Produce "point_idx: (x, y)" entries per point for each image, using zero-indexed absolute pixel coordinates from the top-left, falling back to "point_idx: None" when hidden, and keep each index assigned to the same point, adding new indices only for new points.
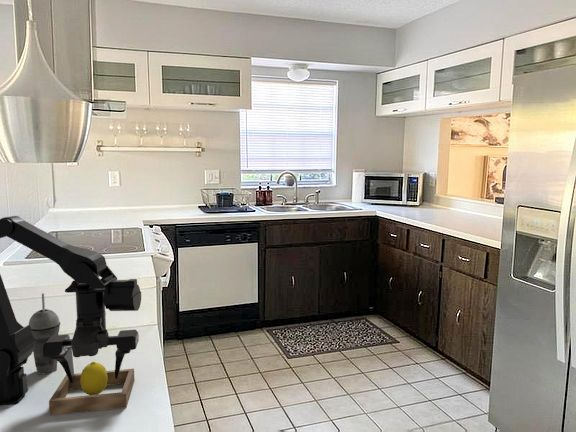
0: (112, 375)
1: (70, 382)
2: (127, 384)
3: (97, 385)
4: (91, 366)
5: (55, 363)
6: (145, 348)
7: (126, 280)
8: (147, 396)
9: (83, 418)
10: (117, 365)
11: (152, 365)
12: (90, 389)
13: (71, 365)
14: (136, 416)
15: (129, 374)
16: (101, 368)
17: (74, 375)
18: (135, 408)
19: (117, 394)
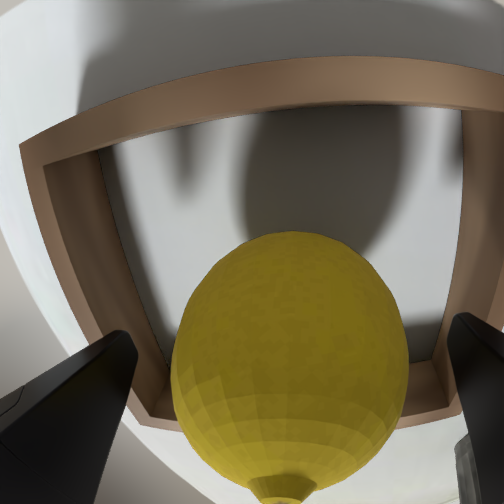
0: None
1: (469, 313)
2: (60, 272)
3: (230, 257)
4: (290, 453)
5: (464, 458)
6: (229, 497)
7: None
8: (43, 240)
9: (268, 6)
10: (36, 392)
11: (159, 444)
12: (294, 232)
13: (501, 441)
14: (27, 66)
15: None
16: (182, 417)
17: (428, 411)
18: (42, 129)
19: (52, 131)
